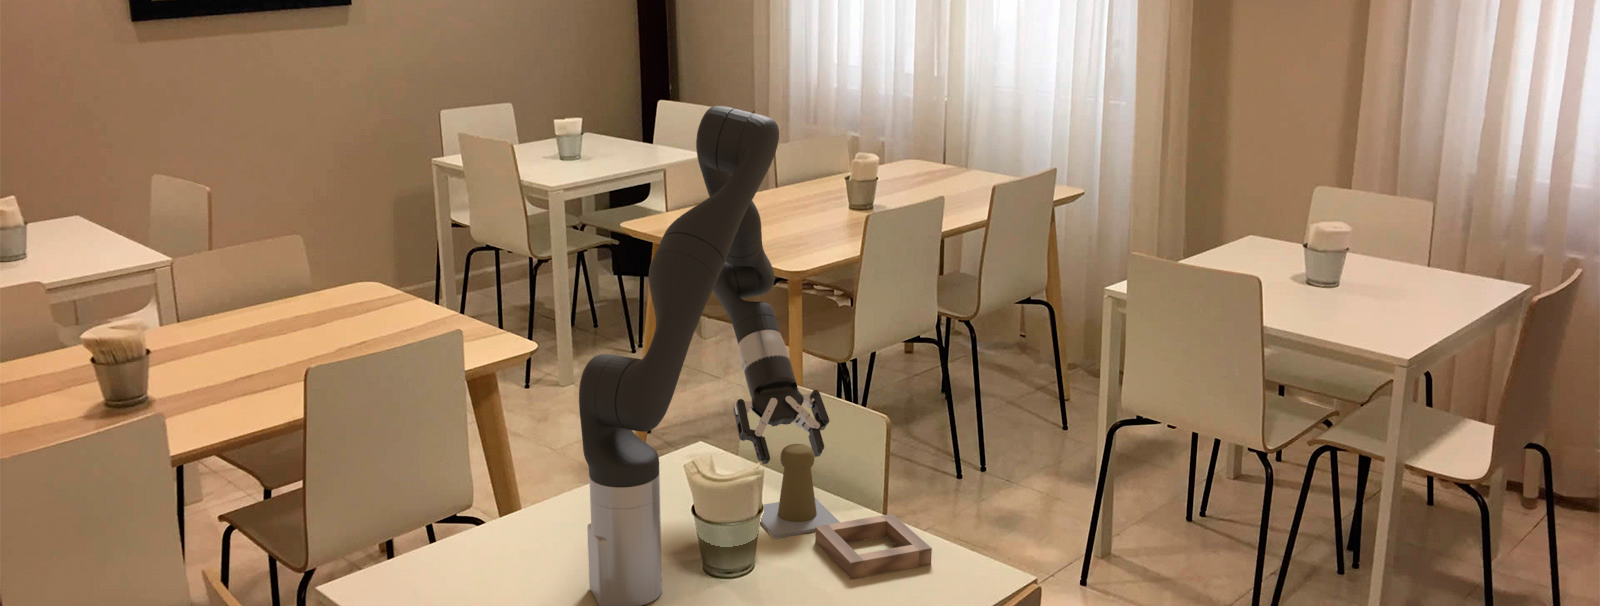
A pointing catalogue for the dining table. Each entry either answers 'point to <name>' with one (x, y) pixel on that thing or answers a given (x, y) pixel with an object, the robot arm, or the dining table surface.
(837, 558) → the walnut board
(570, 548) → the dining table surface
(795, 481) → the cork
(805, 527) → the slate mat
